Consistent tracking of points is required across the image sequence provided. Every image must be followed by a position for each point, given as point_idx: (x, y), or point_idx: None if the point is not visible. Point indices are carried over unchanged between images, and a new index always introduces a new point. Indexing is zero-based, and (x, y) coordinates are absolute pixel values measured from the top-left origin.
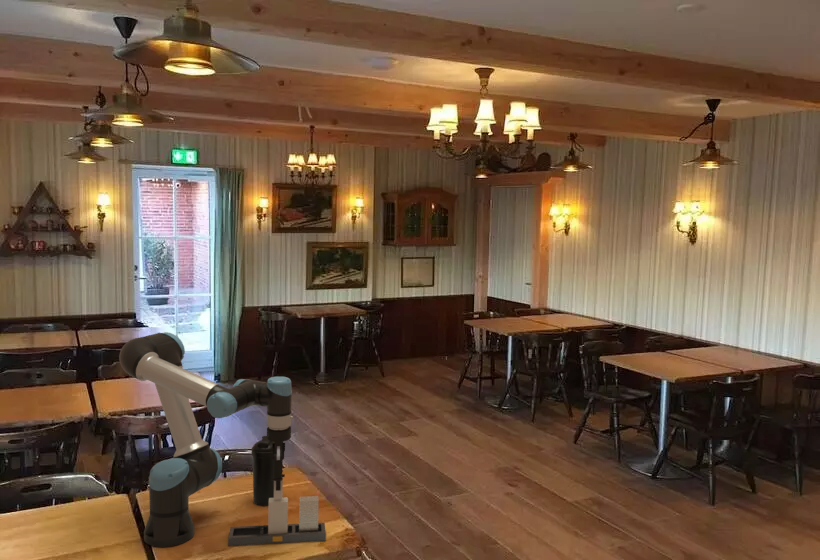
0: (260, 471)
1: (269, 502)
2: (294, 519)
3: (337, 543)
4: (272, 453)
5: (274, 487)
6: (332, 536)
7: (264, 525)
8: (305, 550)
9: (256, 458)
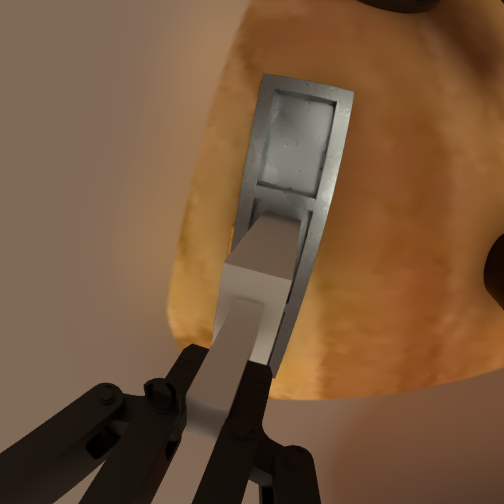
0: None
1: (224, 268)
2: (375, 317)
3: None
4: None
5: (208, 352)
6: None
7: (325, 216)
8: (183, 294)
9: None
